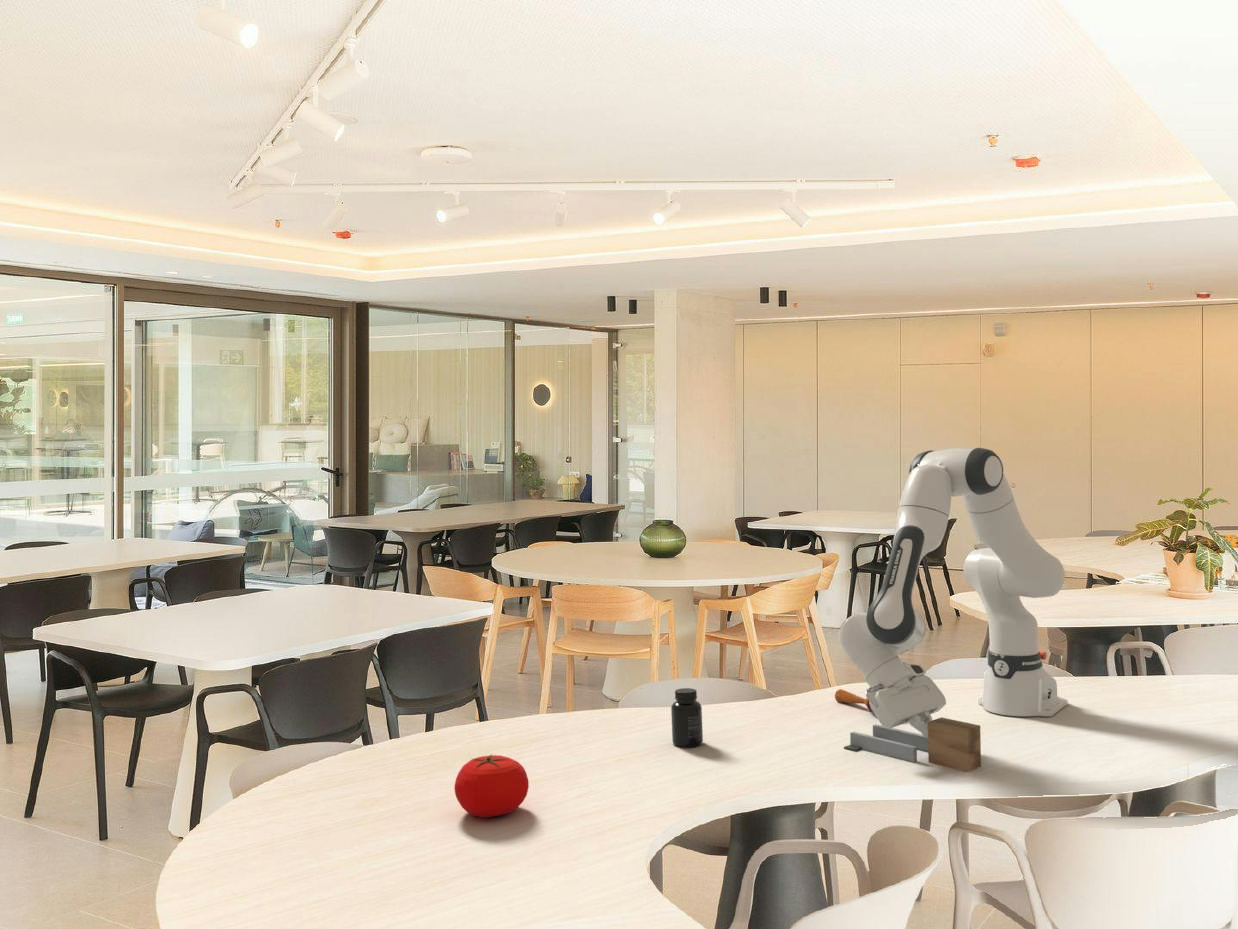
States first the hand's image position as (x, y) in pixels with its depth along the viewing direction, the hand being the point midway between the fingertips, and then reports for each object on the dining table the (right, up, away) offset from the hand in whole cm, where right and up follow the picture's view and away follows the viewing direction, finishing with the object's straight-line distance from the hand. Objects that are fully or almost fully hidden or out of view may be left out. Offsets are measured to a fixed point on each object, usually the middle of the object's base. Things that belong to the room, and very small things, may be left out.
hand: (931, 734), depth 227 cm
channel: (-6, -5, +7) cm, 11 cm away
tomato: (-89, -8, -26) cm, 93 cm away
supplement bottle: (-50, -6, +15) cm, 53 cm away
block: (+3, -5, -4) cm, 7 cm away
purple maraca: (-5, -4, +39) cm, 40 cm away
